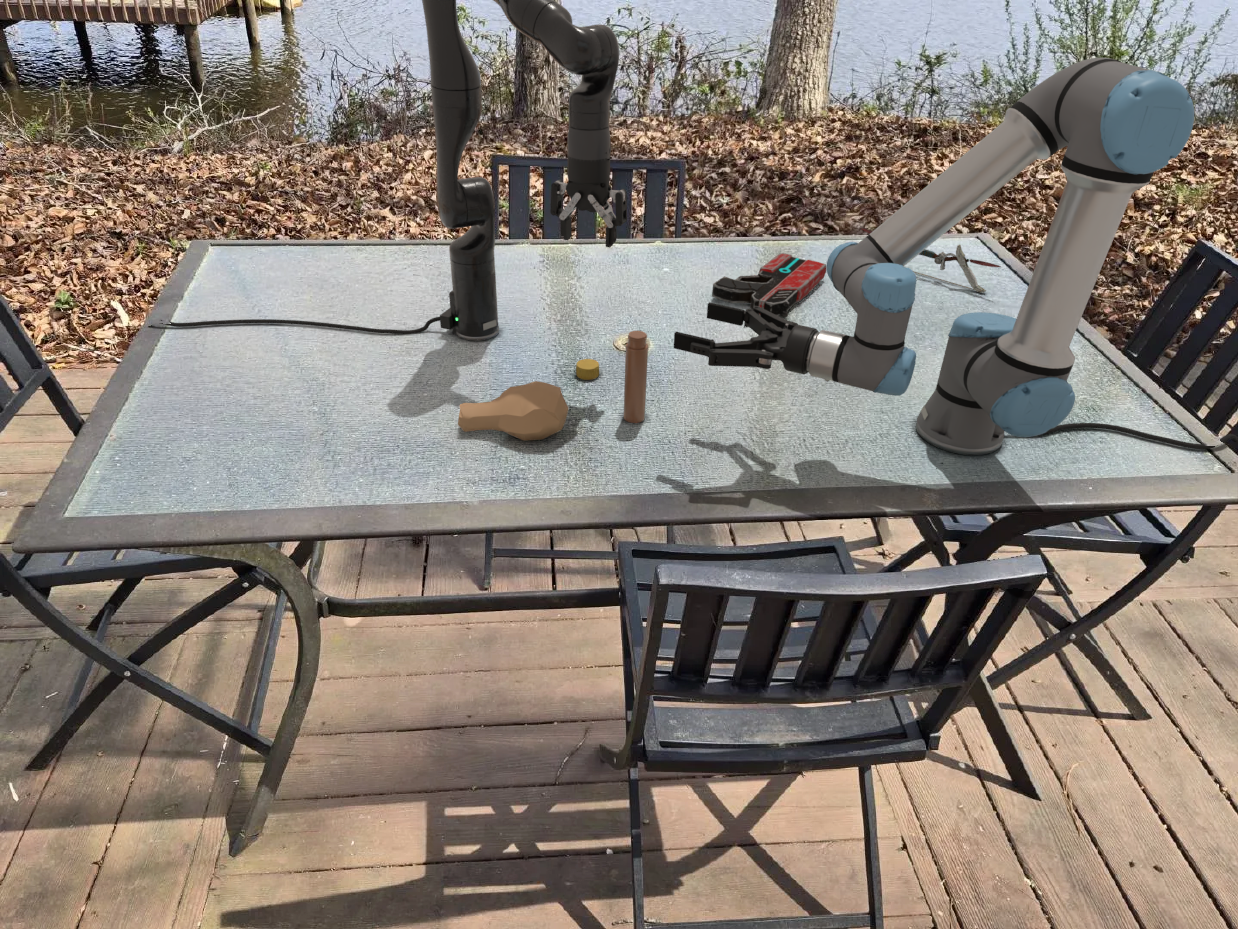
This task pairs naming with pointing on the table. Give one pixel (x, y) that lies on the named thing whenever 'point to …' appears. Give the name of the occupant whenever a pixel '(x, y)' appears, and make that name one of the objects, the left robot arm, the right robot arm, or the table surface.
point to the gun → (773, 284)
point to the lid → (587, 369)
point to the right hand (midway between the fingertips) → (691, 324)
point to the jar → (635, 377)
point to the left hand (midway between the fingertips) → (588, 242)
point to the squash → (519, 412)
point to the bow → (959, 258)
